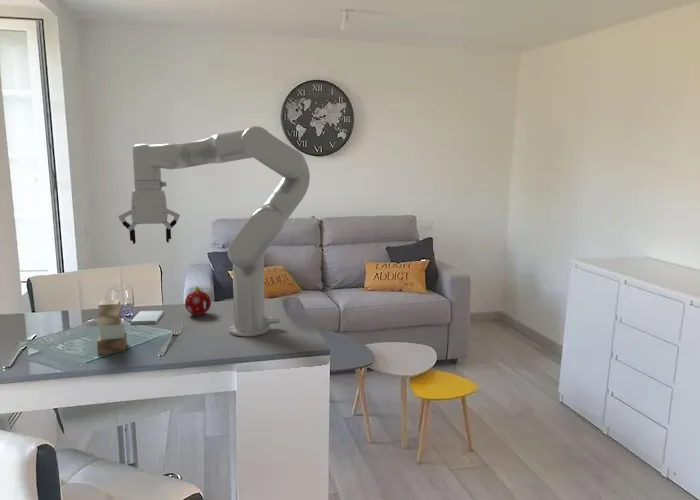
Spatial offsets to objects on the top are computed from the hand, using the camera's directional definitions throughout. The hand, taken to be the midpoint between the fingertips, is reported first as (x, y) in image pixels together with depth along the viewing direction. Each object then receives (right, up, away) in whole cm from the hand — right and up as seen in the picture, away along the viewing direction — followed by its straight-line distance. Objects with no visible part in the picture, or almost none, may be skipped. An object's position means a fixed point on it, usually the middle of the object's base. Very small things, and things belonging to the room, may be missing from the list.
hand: (151, 242), depth 166 cm
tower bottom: (-7, -31, -11) cm, 33 cm away
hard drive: (-8, -26, +19) cm, 33 cm away
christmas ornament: (+8, -25, +23) cm, 35 cm away
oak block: (-7, -23, -12) cm, 27 cm away
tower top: (-7, -27, -11) cm, 30 cm away
